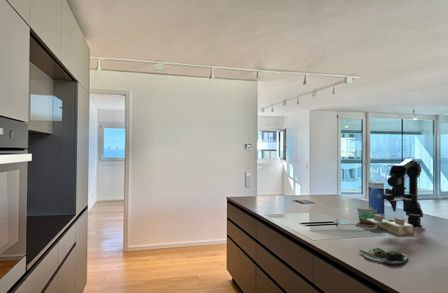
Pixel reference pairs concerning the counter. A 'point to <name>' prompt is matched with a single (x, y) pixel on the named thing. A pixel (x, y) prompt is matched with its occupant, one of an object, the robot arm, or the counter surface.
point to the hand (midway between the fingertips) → (399, 211)
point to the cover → (378, 219)
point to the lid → (399, 223)
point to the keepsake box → (396, 228)
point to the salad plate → (385, 256)
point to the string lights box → (376, 197)
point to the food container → (366, 215)
